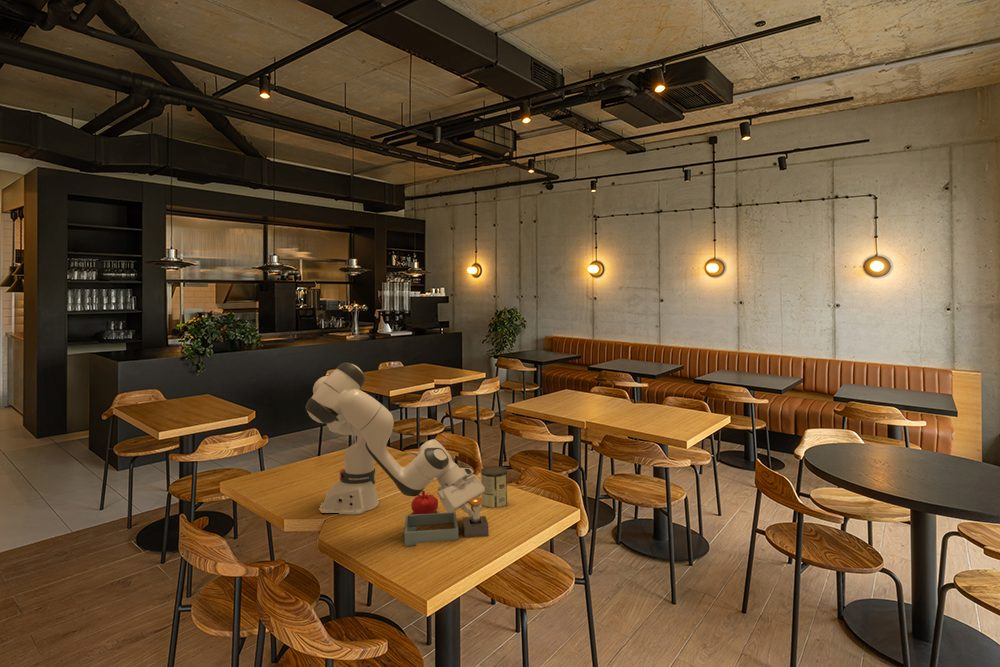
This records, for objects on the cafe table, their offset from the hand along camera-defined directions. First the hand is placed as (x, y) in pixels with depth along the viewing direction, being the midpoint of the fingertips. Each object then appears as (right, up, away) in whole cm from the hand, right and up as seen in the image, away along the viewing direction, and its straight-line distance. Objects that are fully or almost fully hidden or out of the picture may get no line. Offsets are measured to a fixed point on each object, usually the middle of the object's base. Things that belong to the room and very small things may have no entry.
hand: (476, 513), depth 183 cm
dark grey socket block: (-1, -8, +1) cm, 8 cm away
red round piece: (-20, -7, +18) cm, 28 cm away
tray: (-16, -8, 0) cm, 17 cm away
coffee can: (+6, -6, +27) cm, 28 cm away
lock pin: (-1, -7, +1) cm, 7 cm away
